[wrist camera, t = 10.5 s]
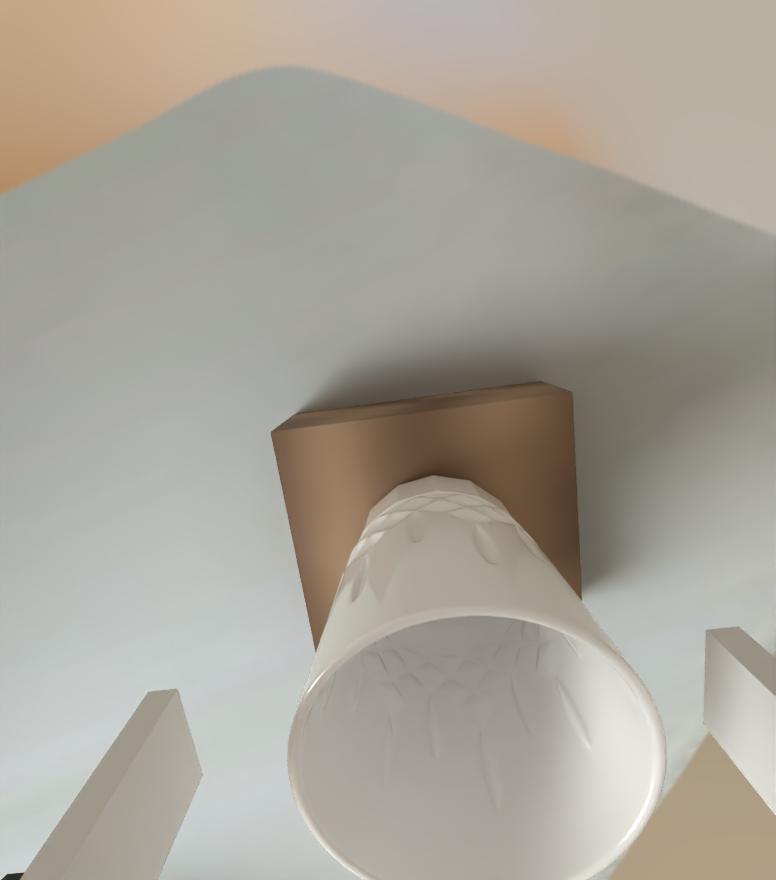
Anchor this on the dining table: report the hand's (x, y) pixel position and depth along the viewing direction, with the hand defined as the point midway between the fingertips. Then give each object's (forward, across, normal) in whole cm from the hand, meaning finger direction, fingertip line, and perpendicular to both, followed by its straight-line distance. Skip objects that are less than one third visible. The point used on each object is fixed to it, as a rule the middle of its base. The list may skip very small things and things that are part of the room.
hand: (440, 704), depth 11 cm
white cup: (+8, +1, 0) cm, 8 cm away
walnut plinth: (+12, +1, 0) cm, 12 cm away
